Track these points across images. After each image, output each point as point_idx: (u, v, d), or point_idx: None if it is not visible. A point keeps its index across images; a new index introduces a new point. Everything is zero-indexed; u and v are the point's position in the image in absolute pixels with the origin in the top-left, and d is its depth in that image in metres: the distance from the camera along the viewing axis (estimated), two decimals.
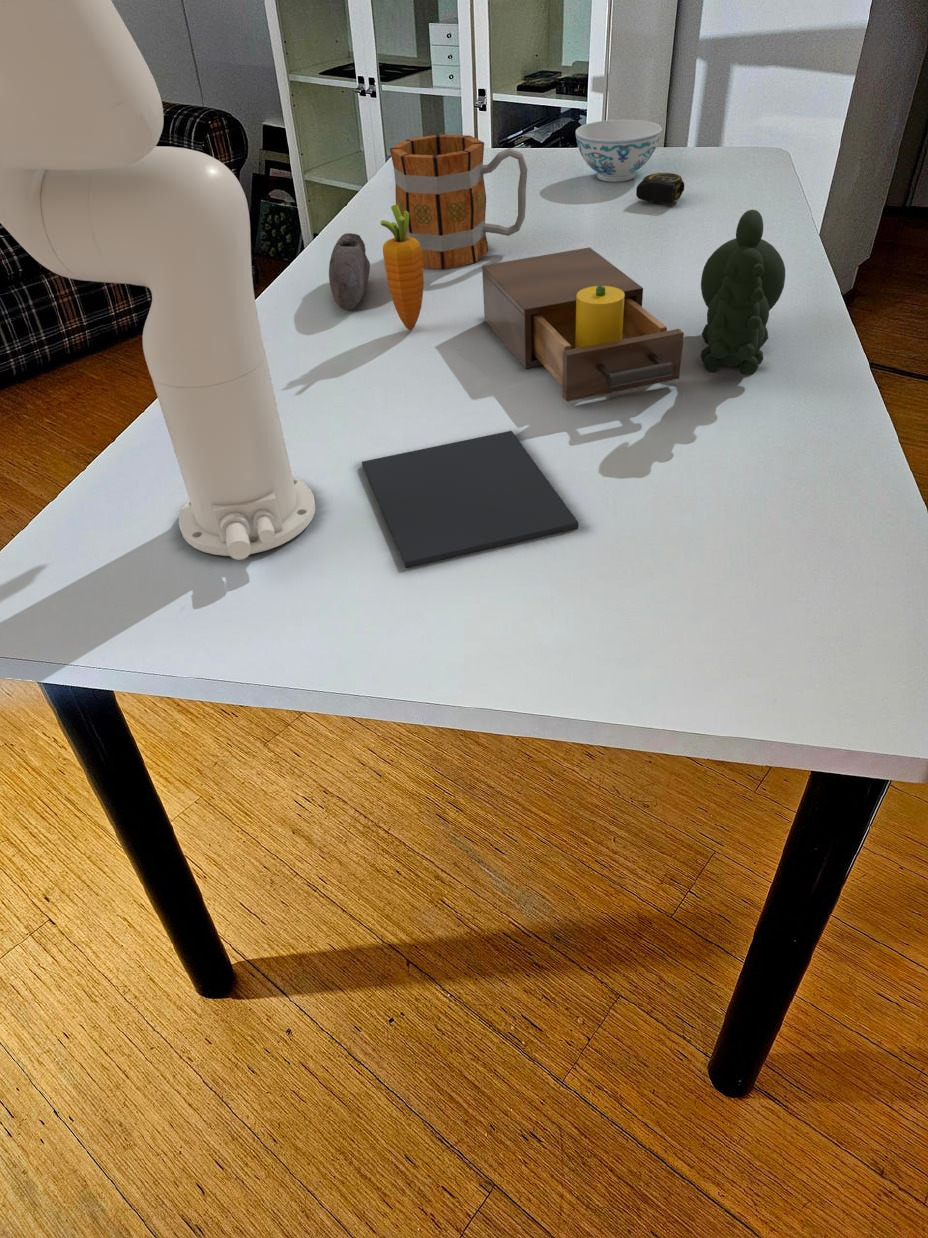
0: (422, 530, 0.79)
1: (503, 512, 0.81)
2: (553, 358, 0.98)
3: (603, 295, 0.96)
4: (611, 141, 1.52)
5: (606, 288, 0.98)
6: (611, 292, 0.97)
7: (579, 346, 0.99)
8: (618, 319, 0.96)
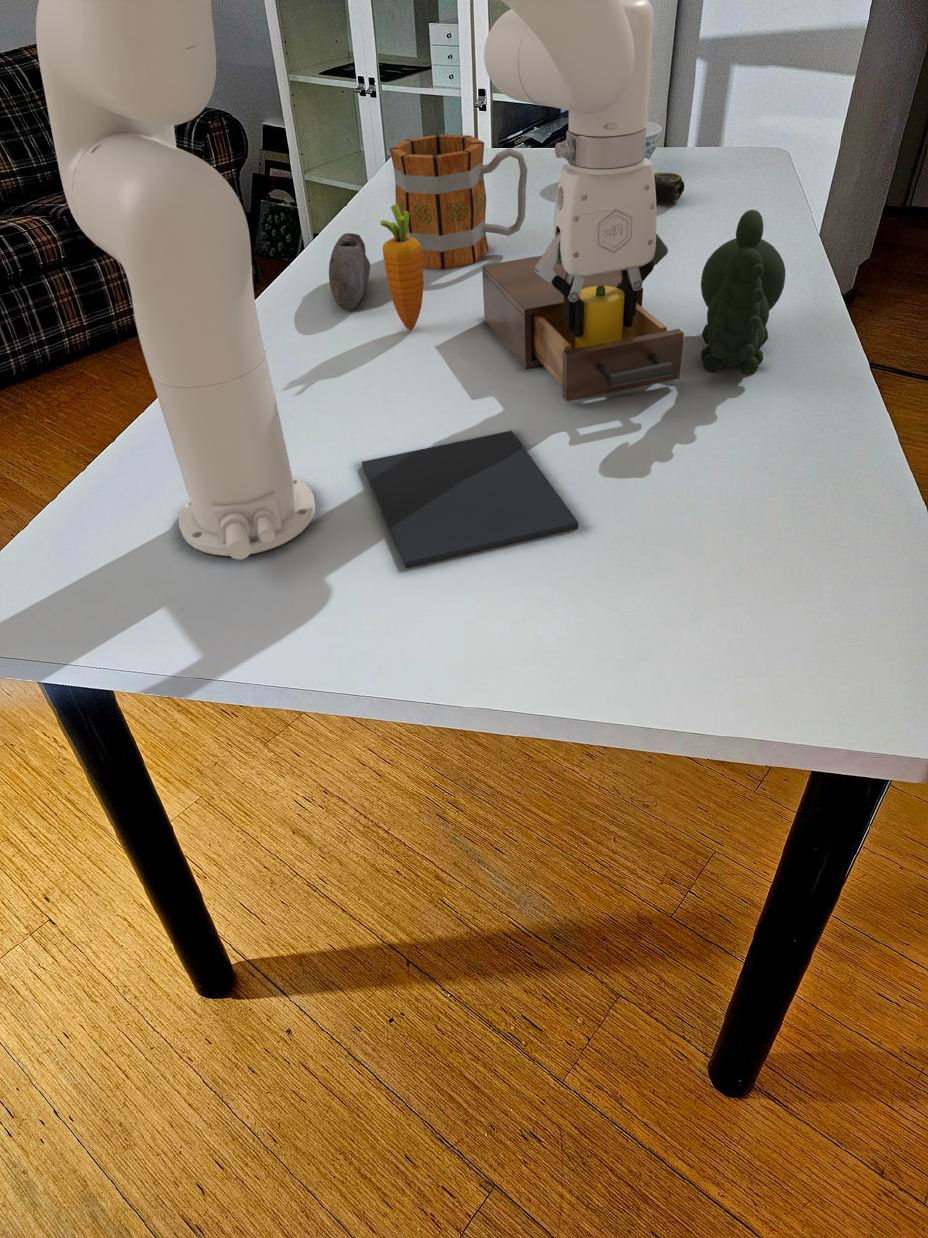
0: (422, 530, 0.79)
1: (503, 512, 0.81)
2: (553, 358, 0.98)
3: (603, 295, 0.96)
4: None
5: (606, 288, 0.98)
6: (611, 292, 0.97)
7: (579, 346, 0.99)
8: (618, 319, 0.96)
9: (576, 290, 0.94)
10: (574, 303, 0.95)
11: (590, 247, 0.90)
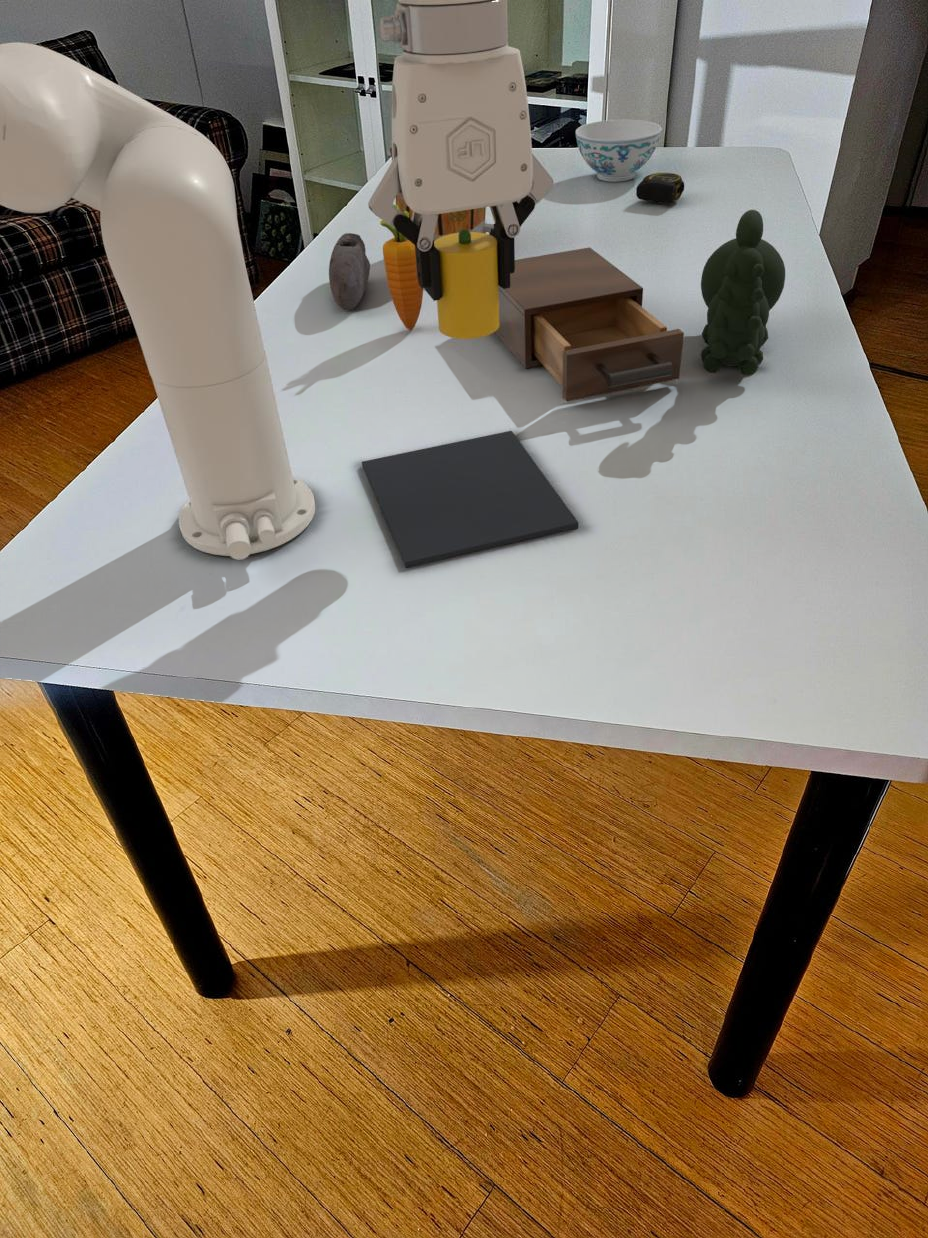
0: (422, 530, 0.79)
1: (503, 512, 0.81)
2: (553, 358, 0.98)
3: (468, 243, 0.71)
4: (611, 141, 1.52)
5: (475, 235, 0.73)
6: (480, 239, 0.72)
7: (441, 313, 0.74)
8: (488, 275, 0.71)
9: (427, 235, 0.69)
10: (427, 253, 0.70)
11: (438, 172, 0.65)
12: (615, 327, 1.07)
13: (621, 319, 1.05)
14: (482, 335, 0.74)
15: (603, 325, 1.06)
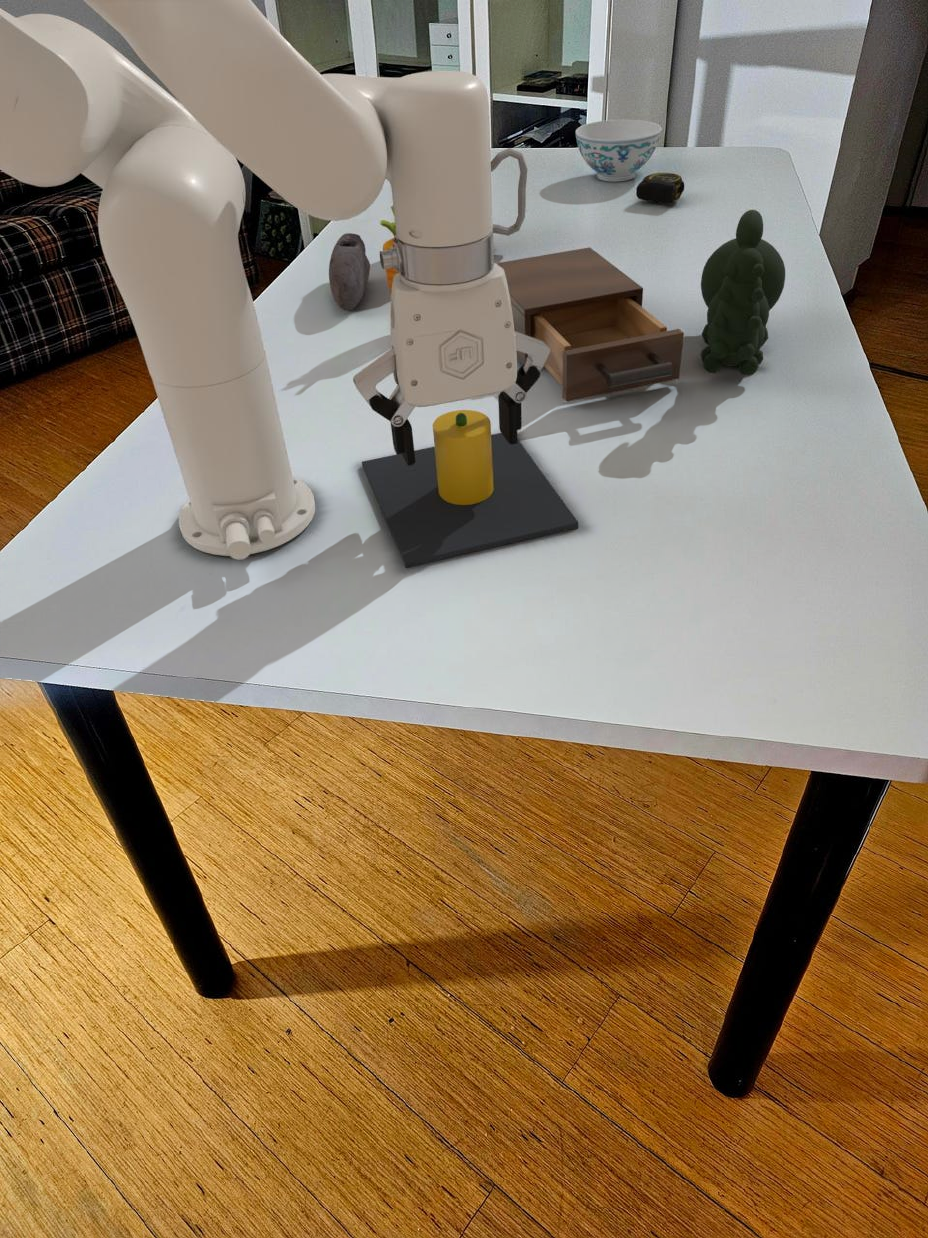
0: (422, 530, 0.79)
1: (503, 512, 0.81)
2: (553, 358, 0.98)
3: (464, 425, 0.79)
4: (611, 141, 1.52)
5: (470, 414, 0.81)
6: (475, 420, 0.80)
7: (440, 482, 0.82)
8: (483, 454, 0.79)
9: (402, 414, 0.76)
10: (401, 427, 0.77)
11: (431, 374, 0.73)
12: (615, 327, 1.07)
13: (621, 319, 1.05)
14: (477, 501, 0.82)
15: (603, 325, 1.06)
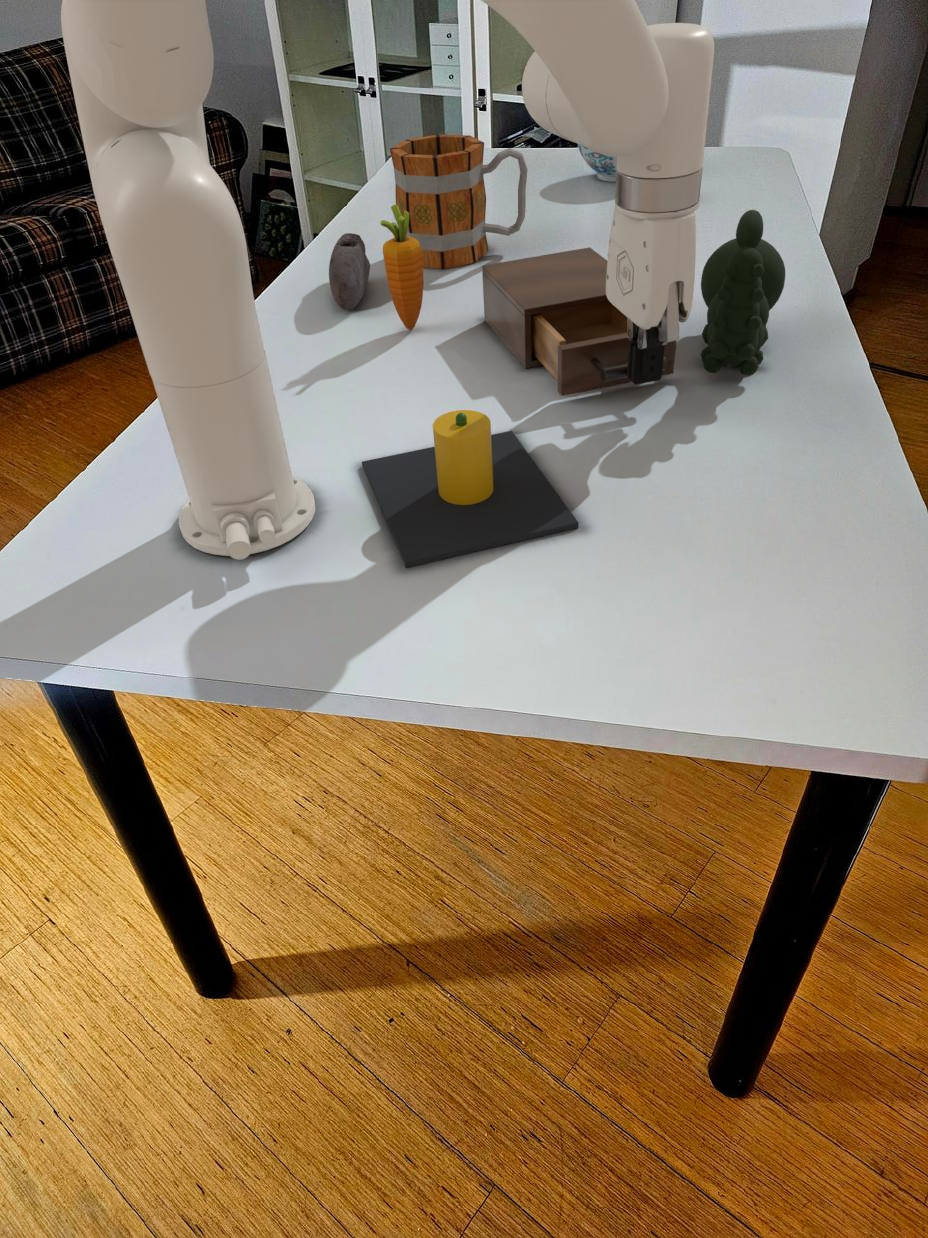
0: (422, 530, 0.79)
1: (503, 512, 0.81)
2: (548, 353, 0.99)
3: (464, 425, 0.79)
4: None
5: (470, 414, 0.81)
6: (475, 420, 0.80)
7: (440, 482, 0.82)
8: (483, 454, 0.79)
9: (630, 328, 0.89)
10: None
11: (613, 277, 0.87)
12: (610, 323, 1.08)
13: (616, 315, 1.06)
14: (477, 501, 0.82)
15: (598, 321, 1.07)
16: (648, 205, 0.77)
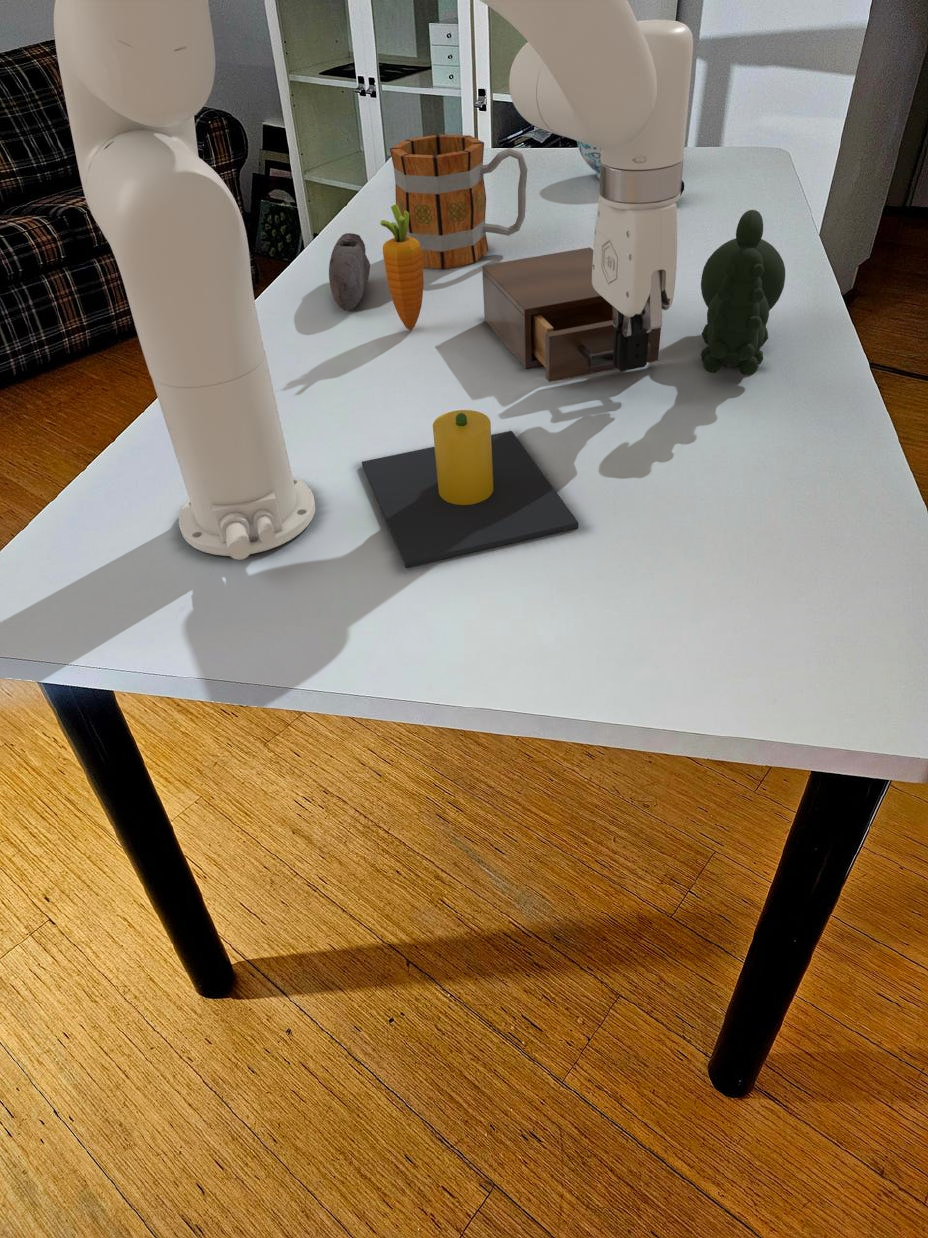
0: (422, 530, 0.79)
1: (503, 512, 0.81)
2: (537, 340, 1.02)
3: (464, 425, 0.79)
4: None
5: (470, 414, 0.81)
6: (475, 420, 0.80)
7: (440, 482, 0.82)
8: (483, 454, 0.79)
9: (615, 316, 0.92)
10: None
11: (598, 266, 0.89)
12: (598, 312, 1.10)
13: (603, 304, 1.09)
14: (477, 501, 0.82)
15: (586, 310, 1.10)
16: (631, 196, 0.80)
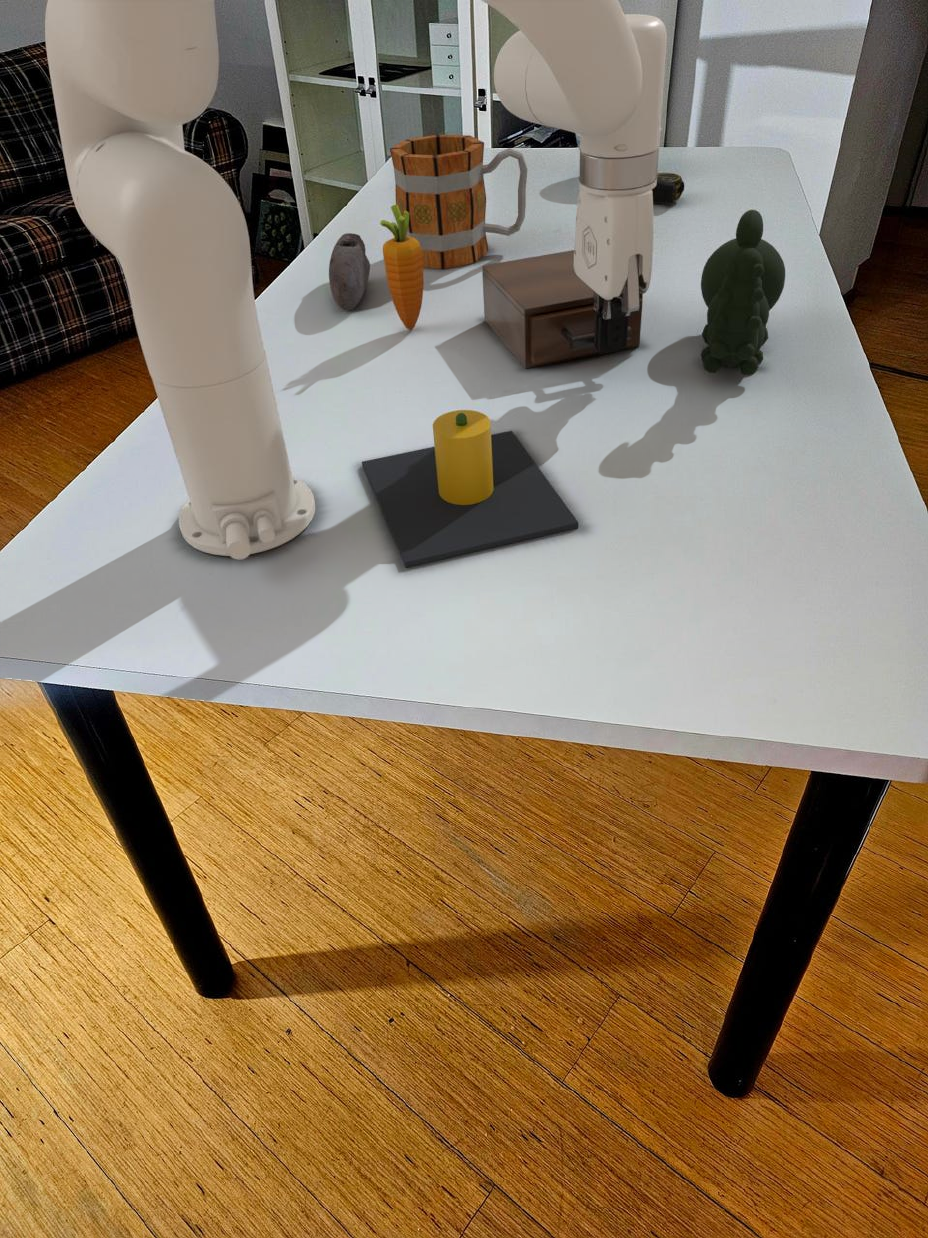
0: (422, 530, 0.79)
1: (503, 512, 0.81)
2: None
3: (464, 425, 0.79)
4: None
5: (470, 414, 0.81)
6: (475, 420, 0.80)
7: (440, 482, 0.82)
8: (483, 454, 0.79)
9: (596, 300, 0.95)
10: None
11: (579, 251, 0.93)
12: None
13: None
14: (477, 501, 0.82)
15: None
16: (608, 183, 0.84)
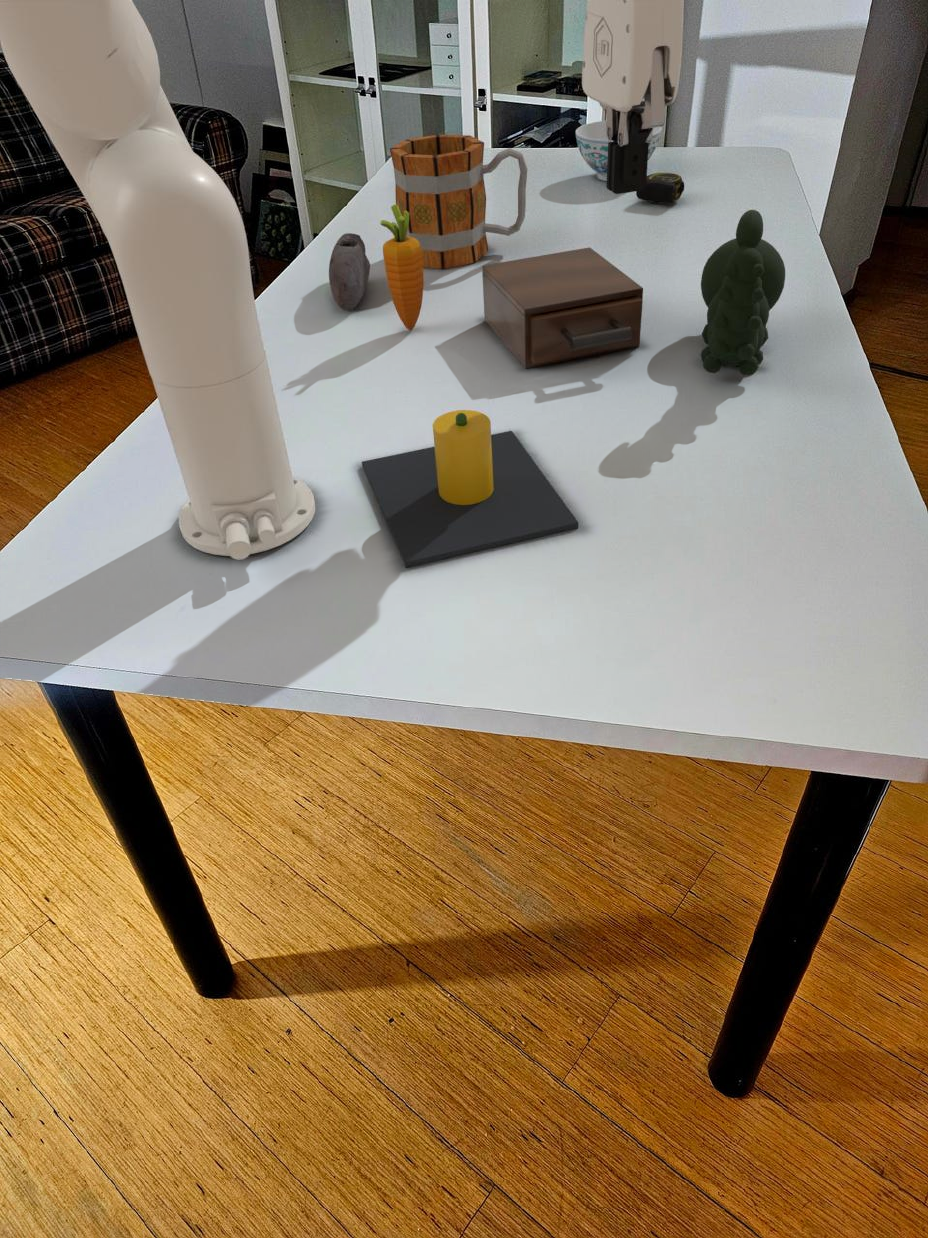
0: (422, 530, 0.79)
1: (503, 512, 0.81)
2: None
3: (464, 425, 0.79)
4: (611, 141, 1.52)
5: (470, 414, 0.81)
6: (475, 420, 0.80)
7: (440, 482, 0.82)
8: (483, 454, 0.79)
9: (609, 124, 0.78)
10: None
11: (589, 60, 0.76)
12: None
13: None
14: (477, 501, 0.82)
15: None
16: None
